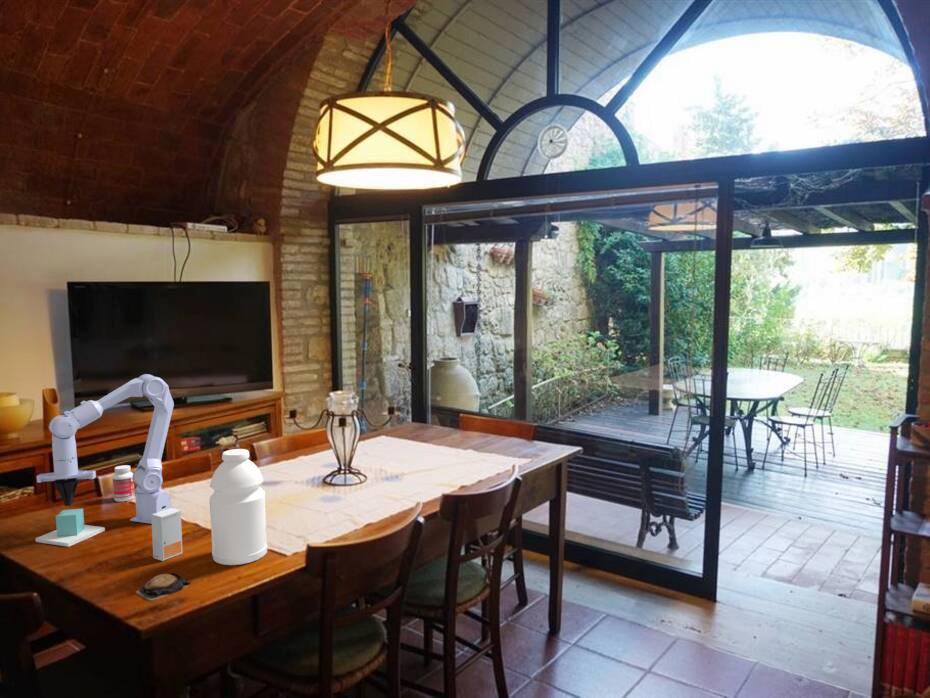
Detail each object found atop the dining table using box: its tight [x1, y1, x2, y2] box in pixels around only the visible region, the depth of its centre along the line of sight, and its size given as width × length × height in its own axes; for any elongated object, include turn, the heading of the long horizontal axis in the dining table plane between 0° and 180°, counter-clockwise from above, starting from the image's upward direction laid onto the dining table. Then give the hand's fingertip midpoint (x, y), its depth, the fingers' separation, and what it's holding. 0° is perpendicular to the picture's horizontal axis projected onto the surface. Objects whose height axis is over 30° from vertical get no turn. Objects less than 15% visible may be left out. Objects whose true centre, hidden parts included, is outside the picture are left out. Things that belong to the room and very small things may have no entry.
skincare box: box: [151, 507, 183, 562], centre depth 171 cm, size 6×4×12 cm
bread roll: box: [135, 572, 192, 602], centre depth 153 cm, size 11×8×4 cm
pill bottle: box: [112, 464, 135, 503], centre depth 217 cm, size 6×6×11 cm
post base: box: [34, 524, 106, 548], centre depth 185 cm, size 12×12×6 cm
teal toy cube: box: [55, 508, 85, 537], centre depth 185 cm, size 5×5×6 cm
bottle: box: [208, 448, 268, 566], centre depth 170 cm, size 14×14×28 cm
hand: (68, 504), depth 184 cm, fingers closed
